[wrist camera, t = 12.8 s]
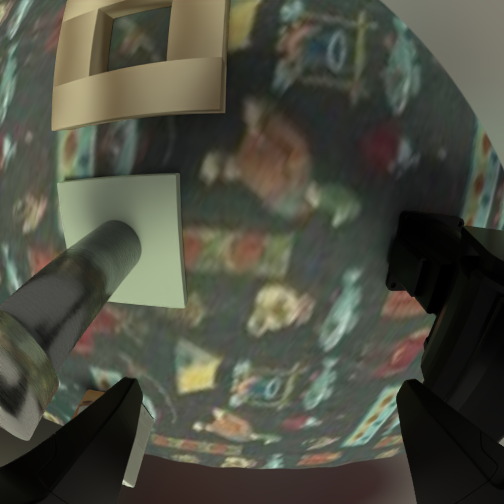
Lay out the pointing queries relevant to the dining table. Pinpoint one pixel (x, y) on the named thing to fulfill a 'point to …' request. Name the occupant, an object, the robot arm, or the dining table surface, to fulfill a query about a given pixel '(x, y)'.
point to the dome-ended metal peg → (57, 319)
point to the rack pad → (142, 222)
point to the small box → (140, 439)
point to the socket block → (142, 76)
